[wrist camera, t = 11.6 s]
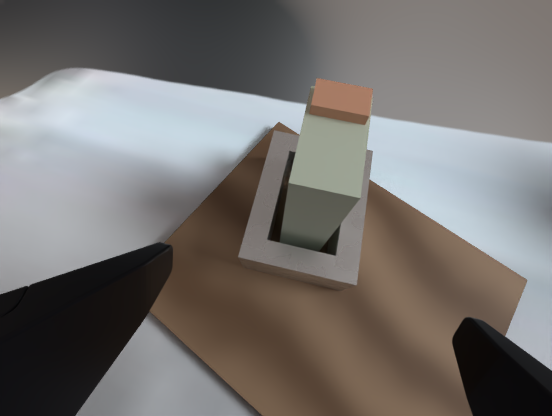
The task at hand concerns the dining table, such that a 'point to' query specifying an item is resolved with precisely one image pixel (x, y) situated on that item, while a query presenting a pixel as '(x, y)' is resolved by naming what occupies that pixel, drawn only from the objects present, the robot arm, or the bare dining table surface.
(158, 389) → the dining table surface
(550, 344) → the dining table surface
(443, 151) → the dining table surface
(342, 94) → the keyed peg
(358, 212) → the keyed slot
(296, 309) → the walnut board
